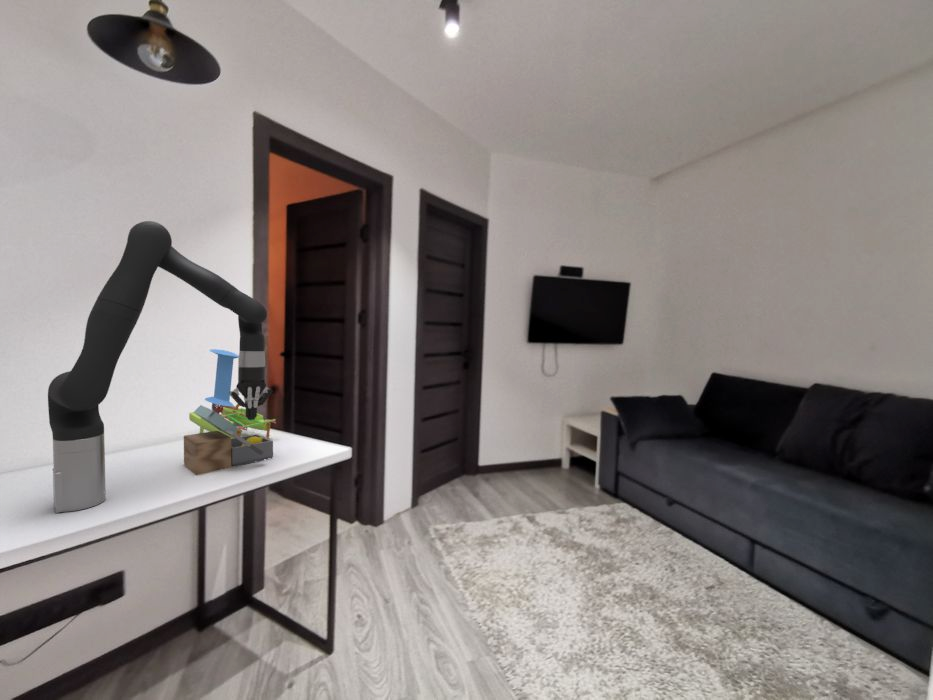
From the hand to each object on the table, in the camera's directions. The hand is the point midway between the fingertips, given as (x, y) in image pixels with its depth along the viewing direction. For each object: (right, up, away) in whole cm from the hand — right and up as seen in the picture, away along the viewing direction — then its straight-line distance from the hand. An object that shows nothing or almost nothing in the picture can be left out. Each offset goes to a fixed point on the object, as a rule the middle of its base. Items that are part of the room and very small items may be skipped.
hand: (251, 419), depth 129 cm
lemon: (-2, -8, +12) cm, 14 cm away
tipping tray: (-9, -5, +2) cm, 10 cm away
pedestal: (-14, -15, +1) cm, 21 cm away
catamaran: (-24, -14, +31) cm, 41 cm away
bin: (-7, -15, +10) cm, 19 cm away
